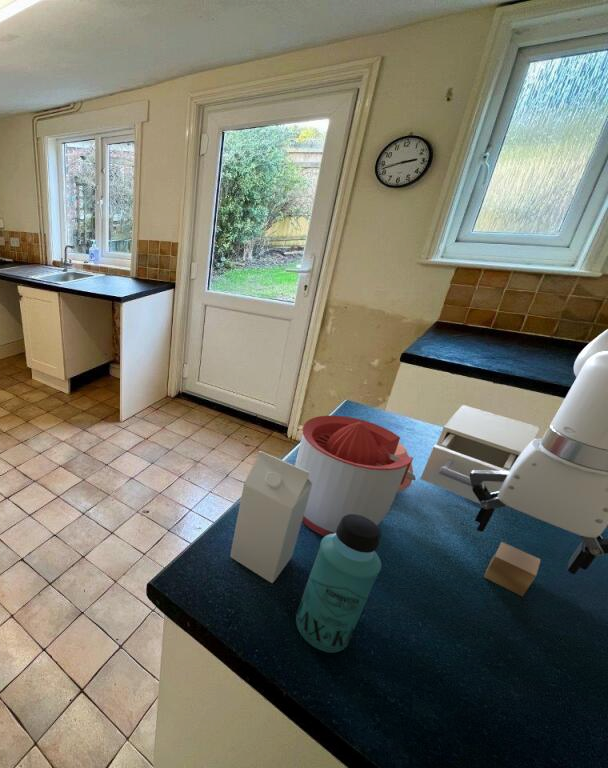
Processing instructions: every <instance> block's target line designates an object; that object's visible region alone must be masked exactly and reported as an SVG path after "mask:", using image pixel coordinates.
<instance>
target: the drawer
mask: <svg viewBox="0 0 608 768" xmlns="http://www.w3.org/2000/svg"><path fill="white" fill-rule="evenodd" d="M515 457H516V454H513V453H510V452H507V451H504V450H501V449H498V448H495V447H492V446H489V445H486V444H483V443H480V442H477V441H474V440H471V439H468V438H465V437H462V436H459V435H456V434H453V433H450V434H449V436H448V437H447V438H446V439H445V441H444V442H443V443H442V444H441V446H438V445H436V444H434V445H433V447H432V450H431V452H430V454H429V457H428V459H427V461H426V464H425V466H424V469H423V470H422V473H421V475H420V480H422V481H424V482H427V483H429V484H431V485H433V486H436V487H438V488H441V489H443V490H446V491H448V492H451V493H453V494H455V495H458V496H460V497H462V498H465V499H467V500H470V501H473V502H474V503H476V504H479V505H480V501H479V500H478V498H477V497H476V495H475V494H474V492H473V490H472V489H473V487H472V485H471V480H470V476H469V475H470V473H471V471H472V470H492V471H509V469H510V467H511V465H512V463H513V461H514V459H515ZM484 485H485V486H486V488H487V489H488V491H489V492H490V493H493V492H497V491H499V490H500V488H501V485H502V482H493V481H484Z"/></svg>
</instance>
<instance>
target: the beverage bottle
mask: <svg viewBox="0 0 608 768" xmlns="http://www.w3.org/2000/svg"><path fill="white" fill-rule="evenodd" d="M380 538H381V530H380V527H379V526H378V525H376V524H375V523H374V522H373V521H371V520H370V519H368V518H366V517H363V516H360V515H356V514H348V515H345V516H344V517H343V518H342V519H341V521H340V523H339V525H338V527H337V529H336V533H333V534H329V535H326V536H323V538H322V539H321V541H320V543H319V548H318V551H317V554H316V557H315V560H314V562H313V566H312V568H311V571H310V573H308V576H307V577H308V578H307V580H306V582H305V583H304V585H305V587H304V588H303V592H302V593H301V596H300V599H299V602H298V607H297V610H296V614H295V623H296V627H297V630H298V632H299V633H300V635H301V636H302V638H303V639H304V640H305V641H306V642H307V643H308V644H309V645H310V646H312V647H313V648H315V649H317V650H319V651H322V652H325V653H330V654H333V653H334V654H335V653H339V652H341V651H343V650H345V649H347V648H348V646H349V643H350V642H351V641H352V639H353V636H354V634H355V631H357V630H356V629H357V628H358V626H359V624H358V622H359V620H360V617H361V616H362V615H363V613H364V611H365V607H366V604H367V602H368V600H369V597H370V596H369V595H370V594H371V591H372V588H373V586H374V583H375V581H376V580H377V577H378V575H379V573H380V572H381V569H382V561H381V558H380V557H379V555H378V553H377V552H376V551H377V549H378V548H379V544H380Z"/></svg>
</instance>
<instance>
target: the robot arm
mask: <svg viewBox="0 0 608 768" xmlns="http://www.w3.org/2000/svg"><path fill="white" fill-rule="evenodd" d="M573 375H574V376H575V380H574V382H573V383H572V385H571V387H570V389H569V390H568V392H567V394H566V395H565V397H564V399H563V401H562V403H561V404H560V406H559V409H558V410H557V412H556V414H555V415H554V416H553V419H552V421H551V423H550V424H549V426H548V428H547V429H546V431H545V433H544V435H543V436H542V438H540V437H539V438H537V437H536V438H535V439H534V440H532V441H531V442H530V443H529V444H528V445H527V447H526V448H525V449H524V450H523V451H522V453H521V454H520V455H519V457H518V458H517V460H516V461H515V463H514V464H513V466H512V467H511V469H510V470H509V471H492V470H472V471H471V473H470V475H469V476H470V480H471V485H472V487H473V489H472V490H473V492H474V494H475V495H476V497H477V498H478V500H479V501H480V504H479V506H480V509H479V511H478V513H477V514H476V516H475V519H474V522H477V523H478V524H479V525H478V526H477V528H476V531H477V532H480V533H483V532H484V531H485V530H486V528H487V525H488V524H489V522H490V520H491V518H492V517H493V514H494V513H495V511H496V508H501V507H506V506H507V507H509V508H511V509H513V510H515V511H518V512H520V513H522V514H525V515H527V516H530V517H531V518H534V519H537V520H540V521H542V522H544V523H547V524H550V525H552V526H554V527H557V528H558V529H559V528H560V529H561V530H564V531H567V532H569V533H571V534H573V535H577V536H580V537H581V539H582V541H581V542H580V543H579V545H578V546H577V548H576V549H575V551H574V552H573V553H572V555H571V557H570V558H569V560H568V564H567V568H566V571H568V573H570V574H572V575H576V573H577V572H578V571H579V569H582V570H584V571H587V570H588V568H589V567H590V565H592V563H593V561H594V560H595V559H596V557H602V556H604V555H606V554H608V537H606V538H604V537H603V536H602V533H603V532H605V530H606V529H607V527H608V328H607V329H606V330H604V331H603V332H602V333H600V334H599V335H597V337H595V338H594V339H592V340H591V341H590V342H589V343H588V344H587V345H586V346H584V348H583V349H582V350H581V351H580V352H579V353H578V355H577V356H576V358H575V361H574V364H573ZM484 481H493V482H502V485H501V488H500V490H499V491H497V492H493V493H490V492H489V491H488V489H487V488H486V486H485V485H484Z"/></svg>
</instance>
